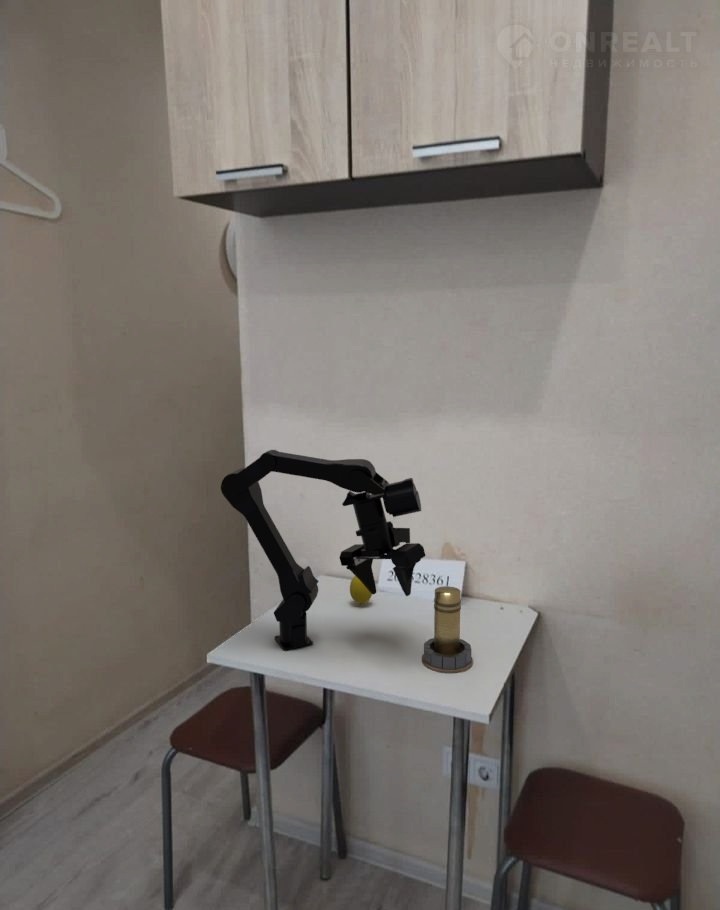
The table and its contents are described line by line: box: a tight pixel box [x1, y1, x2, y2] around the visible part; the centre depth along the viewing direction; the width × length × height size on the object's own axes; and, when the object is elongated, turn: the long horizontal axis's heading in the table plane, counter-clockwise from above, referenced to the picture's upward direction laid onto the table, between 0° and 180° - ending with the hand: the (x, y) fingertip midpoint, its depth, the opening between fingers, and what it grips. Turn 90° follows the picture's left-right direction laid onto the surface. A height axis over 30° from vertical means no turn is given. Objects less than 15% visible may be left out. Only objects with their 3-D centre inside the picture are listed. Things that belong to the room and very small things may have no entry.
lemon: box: [349, 575, 373, 606], centre depth 161 cm, size 6×6×8 cm
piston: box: [433, 586, 462, 655], centre depth 131 cm, size 5×5×14 cm
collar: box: [423, 637, 472, 670], centre depth 132 cm, size 9×9×2 cm
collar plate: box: [421, 653, 474, 674], centre depth 132 cm, size 10×10×1 cm
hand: (391, 594), depth 136 cm, fingers open, 9 cm apart
